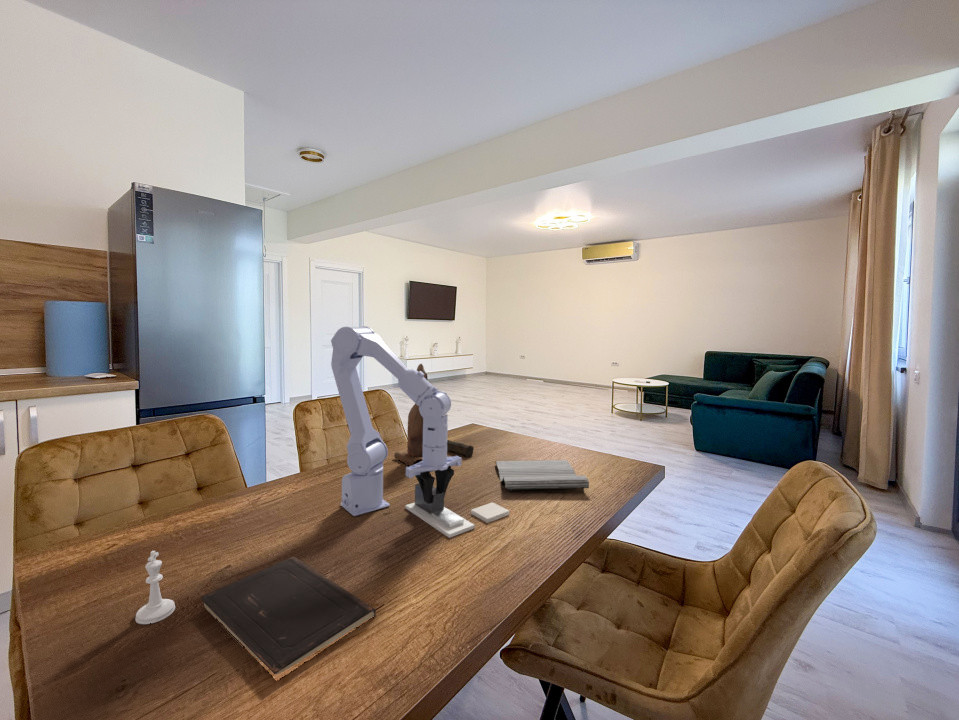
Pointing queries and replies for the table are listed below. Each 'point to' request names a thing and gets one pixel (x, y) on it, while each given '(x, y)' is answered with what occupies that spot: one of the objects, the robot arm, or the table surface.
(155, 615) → the chess piece
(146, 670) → the table surface
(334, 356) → the robot arm
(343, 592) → the hardcover book
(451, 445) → the hand tool
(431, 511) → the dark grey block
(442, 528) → the board
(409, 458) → the bird sculpture
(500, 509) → the tile
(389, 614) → the table surface
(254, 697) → the table surface
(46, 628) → the table surface
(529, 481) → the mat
